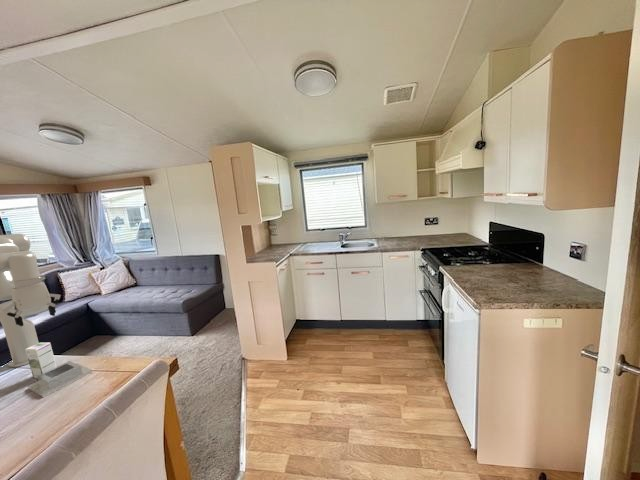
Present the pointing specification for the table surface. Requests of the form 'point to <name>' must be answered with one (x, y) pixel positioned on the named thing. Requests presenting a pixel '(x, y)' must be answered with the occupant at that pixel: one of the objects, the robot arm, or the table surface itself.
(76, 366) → the square socket
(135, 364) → the table surface
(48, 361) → the syrup box
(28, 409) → the table surface
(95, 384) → the table surface
